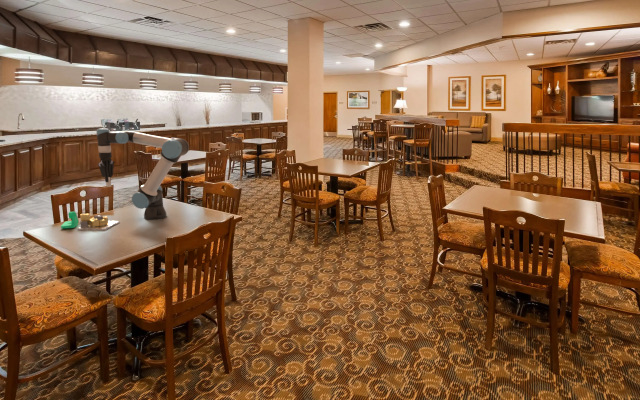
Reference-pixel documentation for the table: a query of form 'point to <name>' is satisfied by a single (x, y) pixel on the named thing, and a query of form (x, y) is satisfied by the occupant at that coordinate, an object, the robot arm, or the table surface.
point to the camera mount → (71, 223)
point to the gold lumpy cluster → (94, 220)
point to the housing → (104, 227)
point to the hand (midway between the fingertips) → (108, 186)
